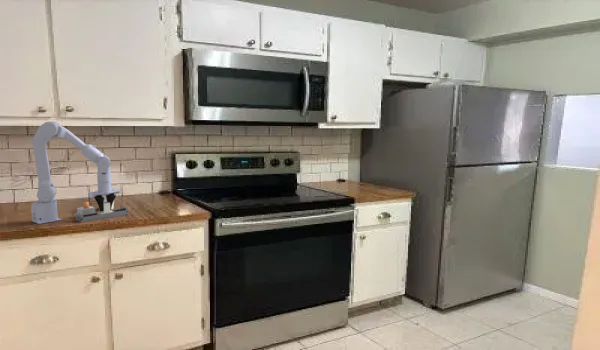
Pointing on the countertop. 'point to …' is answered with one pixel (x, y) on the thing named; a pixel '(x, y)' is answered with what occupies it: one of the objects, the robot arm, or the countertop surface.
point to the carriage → (106, 208)
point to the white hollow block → (86, 210)
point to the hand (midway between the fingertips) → (105, 210)
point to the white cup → (106, 200)
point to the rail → (101, 215)
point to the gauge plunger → (85, 205)
